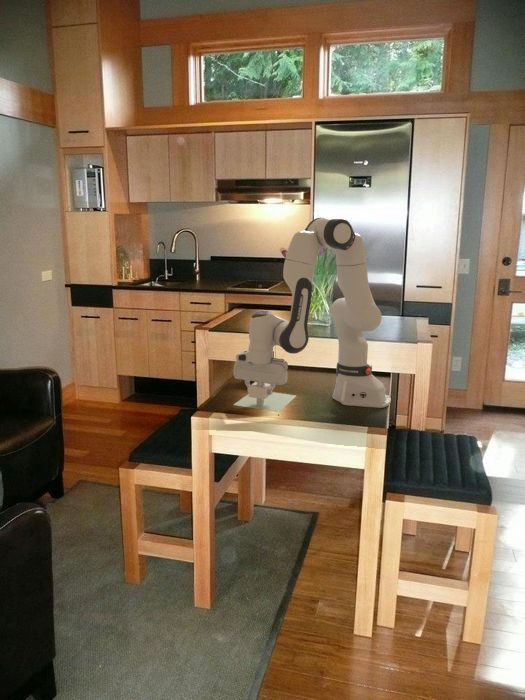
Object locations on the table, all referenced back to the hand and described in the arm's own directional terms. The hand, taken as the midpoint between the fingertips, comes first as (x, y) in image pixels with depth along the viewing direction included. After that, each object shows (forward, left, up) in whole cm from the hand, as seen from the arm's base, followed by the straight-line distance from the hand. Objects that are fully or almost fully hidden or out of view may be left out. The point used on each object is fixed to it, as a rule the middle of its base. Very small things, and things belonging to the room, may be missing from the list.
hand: (259, 392), depth 203 cm
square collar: (0, 0, -1) cm, 1 cm away
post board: (0, -6, -6) cm, 8 cm away
